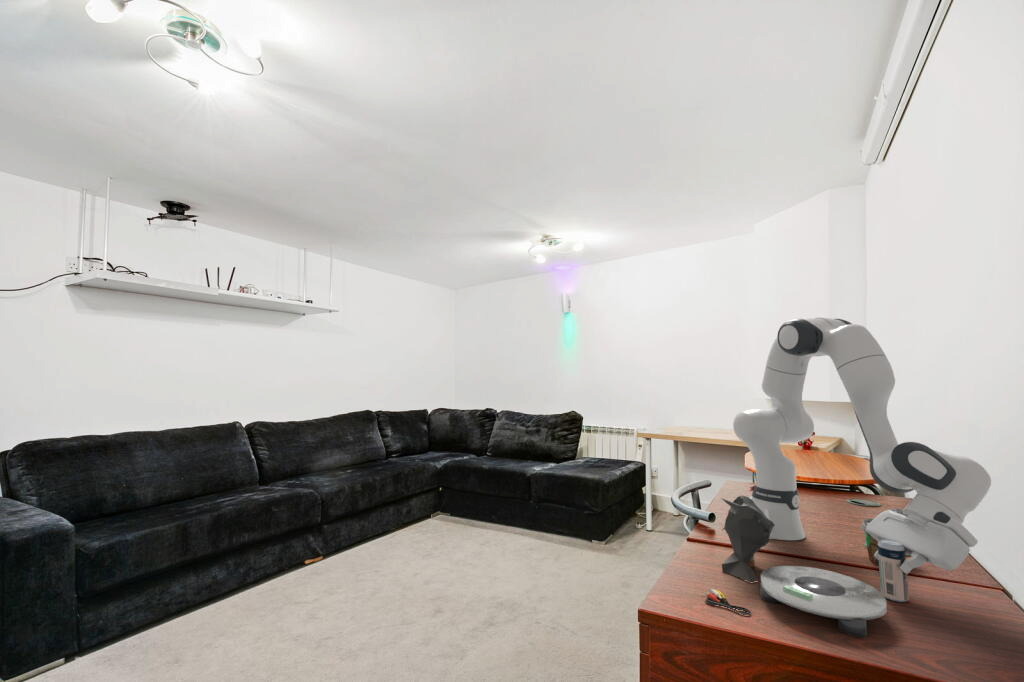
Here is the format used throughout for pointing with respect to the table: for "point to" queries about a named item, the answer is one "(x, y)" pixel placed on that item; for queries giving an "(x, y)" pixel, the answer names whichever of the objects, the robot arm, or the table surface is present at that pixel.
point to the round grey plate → (824, 595)
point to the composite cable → (722, 601)
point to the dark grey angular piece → (745, 536)
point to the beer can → (892, 571)
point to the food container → (870, 542)
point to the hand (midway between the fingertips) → (889, 564)
